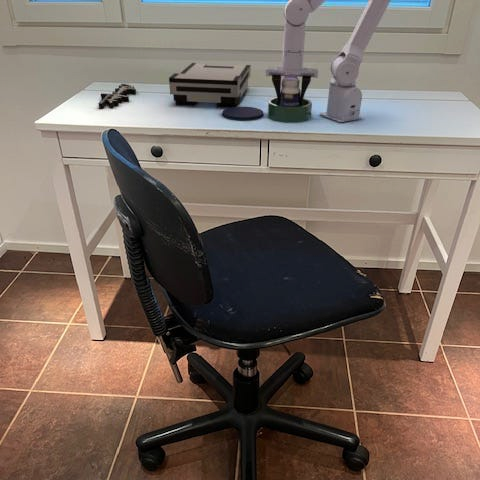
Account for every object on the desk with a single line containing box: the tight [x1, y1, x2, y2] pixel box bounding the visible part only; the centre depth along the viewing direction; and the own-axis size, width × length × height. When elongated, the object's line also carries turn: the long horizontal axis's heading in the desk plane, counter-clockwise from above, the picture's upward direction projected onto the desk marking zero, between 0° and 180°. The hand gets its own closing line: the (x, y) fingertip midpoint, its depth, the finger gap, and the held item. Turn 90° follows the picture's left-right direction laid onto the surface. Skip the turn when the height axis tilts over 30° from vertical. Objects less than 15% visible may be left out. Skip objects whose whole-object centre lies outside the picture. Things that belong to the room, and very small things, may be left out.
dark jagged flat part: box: [97, 83, 137, 110], centre depth 158 cm, size 27×2×10 cm
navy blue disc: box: [221, 106, 265, 122], centre depth 143 cm, size 12×12×1 cm
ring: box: [267, 97, 313, 123], centre depth 141 cm, size 12×12×4 cm
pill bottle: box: [280, 77, 301, 107], centre depth 140 cm, size 6×6×10 cm
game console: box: [168, 62, 252, 109], centre depth 159 cm, size 21×32×8 cm, turn 172°
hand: (289, 104), depth 141 cm, fingers closed on pill bottle, 5 cm apart
